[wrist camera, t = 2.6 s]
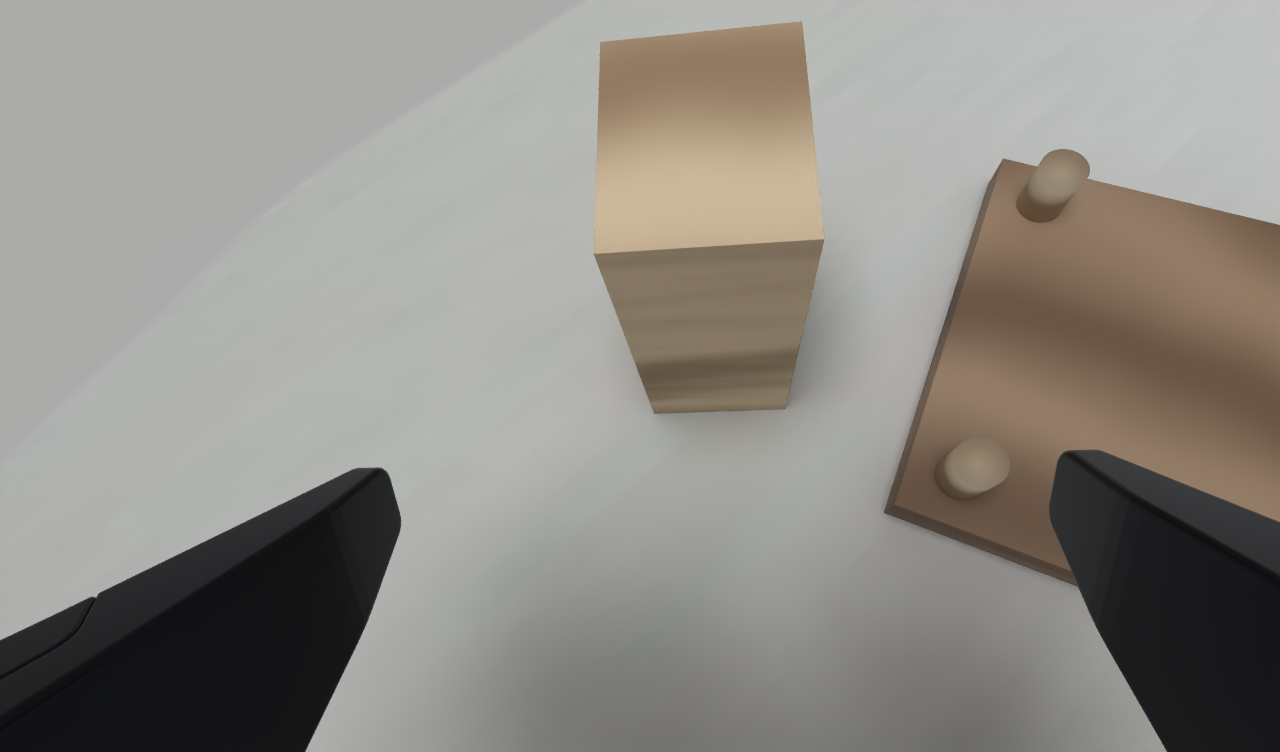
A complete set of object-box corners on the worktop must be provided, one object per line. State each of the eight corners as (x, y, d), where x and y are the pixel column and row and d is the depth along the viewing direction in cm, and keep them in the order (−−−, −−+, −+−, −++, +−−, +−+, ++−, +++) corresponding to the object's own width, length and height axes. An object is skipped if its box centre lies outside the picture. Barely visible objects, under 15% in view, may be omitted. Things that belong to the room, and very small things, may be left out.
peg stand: (1321, 678, 19) (1444, 689, 15) (884, 512, 22) (910, 491, 18) (1370, 280, 22) (1479, 221, 19) (988, 184, 25) (1025, 118, 22)
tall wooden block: (785, 408, 23) (824, 238, 13) (654, 413, 24) (594, 254, 14) (774, 267, 25) (801, 21, 15) (653, 274, 26) (600, 42, 15)
